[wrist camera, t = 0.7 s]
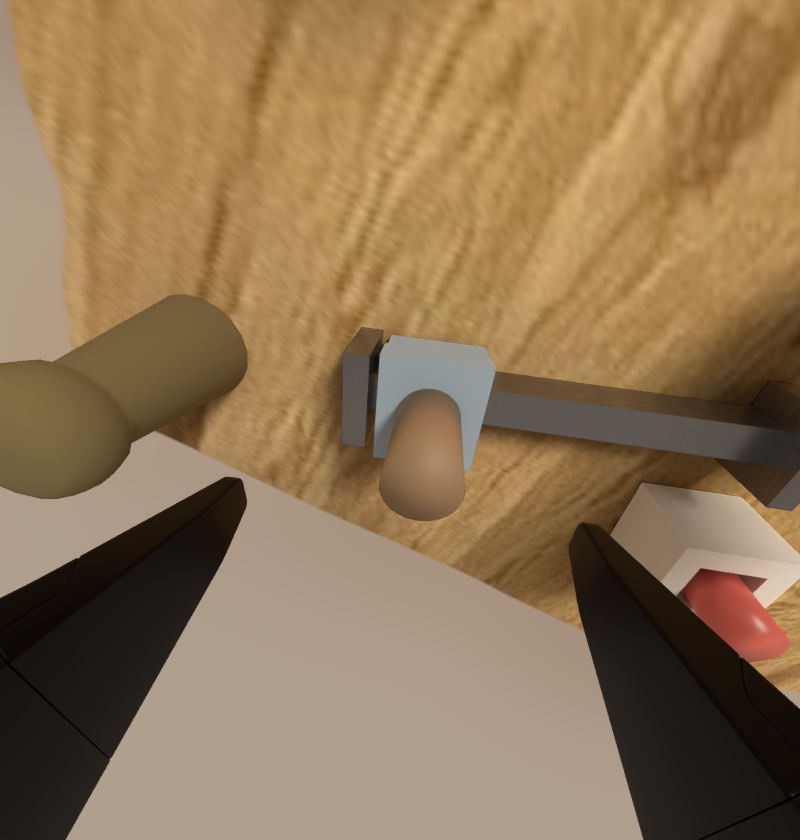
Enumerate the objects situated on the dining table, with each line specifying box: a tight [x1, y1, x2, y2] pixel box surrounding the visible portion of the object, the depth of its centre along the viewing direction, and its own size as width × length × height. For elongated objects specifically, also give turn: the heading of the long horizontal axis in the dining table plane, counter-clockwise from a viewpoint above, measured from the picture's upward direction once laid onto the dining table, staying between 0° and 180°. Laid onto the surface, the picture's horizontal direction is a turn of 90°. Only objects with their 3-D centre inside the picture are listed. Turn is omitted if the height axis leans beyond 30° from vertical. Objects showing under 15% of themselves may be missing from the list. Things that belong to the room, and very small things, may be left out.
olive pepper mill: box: [0, 294, 247, 499], centre depth 16 cm, size 6×6×11 cm
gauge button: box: [682, 568, 790, 662], centre depth 19 cm, size 3×3×4 cm
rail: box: [342, 327, 800, 511], centre depth 18 cm, size 22×5×4 cm, turn 84°
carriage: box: [373, 335, 496, 521], centre depth 16 cm, size 5×6×9 cm
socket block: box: [610, 482, 800, 615], centre depth 21 cm, size 6×6×5 cm
